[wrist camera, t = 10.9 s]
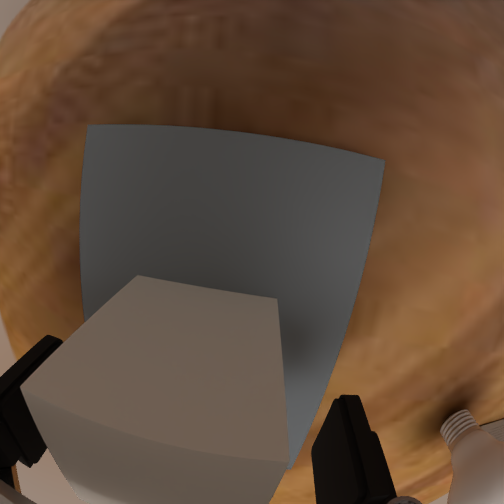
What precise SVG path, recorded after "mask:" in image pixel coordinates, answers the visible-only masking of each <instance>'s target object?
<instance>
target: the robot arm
mask: <svg viewBox="0 0 504 504" xmlns="http://www.w3.org/2000/svg"><path fill="white" fill-rule="evenodd" d="M62 344H63V341H62V340H61V339H59V338H56V337H54V336H51V335H46V336H45V337H44V338H42V339H41V340H40V341H39V342H38V343H37V344H36V345H35V346H33V347H32V348H31V349H30V350H29V351H28V352H27V353H26V354H25V355H23V356H22V357H21V358H20V359H19V360H18V361H17V362H16V363H15V364H14V365H13V366H12V367H10V369H8V370H7V371H6V372H5V373H4V374H3V375H2V376H1V377H0V504H36V503H35V502H33V501H31V500H30V499H28V498H26V497H25V496H23V495H22V494H21V490H20V485H19V480H18V475H17V469H16V462H17V461H18V460H19V461H20V462H22V463H23V464H24V465H26V466H28V467H29V468H31V466H32V465H33V463H34V464H35V463H37V462H38V461H39V460H40V458H41V457H42V455H43V454H44V452H45V451H46V449H47V448H48V447H47V446H46V444H45V442H44V440H43V438H42V436H41V434H40V432H39V430H38V428H37V426H36V424H35V422H34V419H33V417H32V415H31V413H30V411H29V408H28V406H27V404H26V401H25V399H24V396H23V394H22V391H21V389H20V386H21V385H22V384H23V383H24V382H25V381H26V380H27V379H28V378H29V377H30V376H31V375H32V374H33V373H34V372H35V371H36V369H37V368H38V367H39V366H40V365H41V364H42V363H43V362H44V361H45V360H46V359H47V358H48V357H49V356H50V355H51V354H52V353H53V352H54V351H56V350H57V349H58V348H59V347H60V346H61V345H62ZM311 456H312V465H313V474H314V484H315V494H316V504H422V503H421V502H420V501H419V500H417V499H415V498H413V497H409V496H400V497H397V495H396V491H395V488H394V485H393V481H392V478H391V475H390V472H389V468H388V465H387V462H386V459H385V456H384V453H383V450H382V447H381V444H380V441H379V438H378V436H377V434H376V433H375V432H374V431H371V429H370V426H369V423H368V420H367V417H366V414H365V411H364V408H363V405H362V402H361V399H360V397H359V396H358V395H341V396H340V397H339V399H334V401H333V403H332V405H331V408H330V410H329V412H328V414H327V417H326V419H325V421H324V423H323V425H322V427H321V430H320V432H319V434H318V436H317V438H316V440H315V442H314V444H313V446H312V451H311Z"/></svg>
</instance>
